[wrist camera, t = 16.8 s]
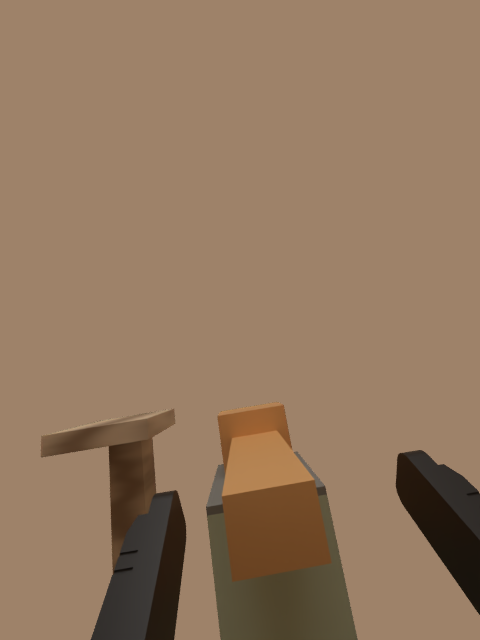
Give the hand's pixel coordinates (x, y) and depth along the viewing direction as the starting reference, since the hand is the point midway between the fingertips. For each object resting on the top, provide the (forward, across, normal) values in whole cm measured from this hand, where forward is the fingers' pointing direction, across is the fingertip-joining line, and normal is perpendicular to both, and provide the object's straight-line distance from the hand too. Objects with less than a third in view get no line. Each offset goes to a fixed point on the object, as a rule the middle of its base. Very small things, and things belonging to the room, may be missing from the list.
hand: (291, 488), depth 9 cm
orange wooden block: (+7, -1, -8) cm, 10 cm away
